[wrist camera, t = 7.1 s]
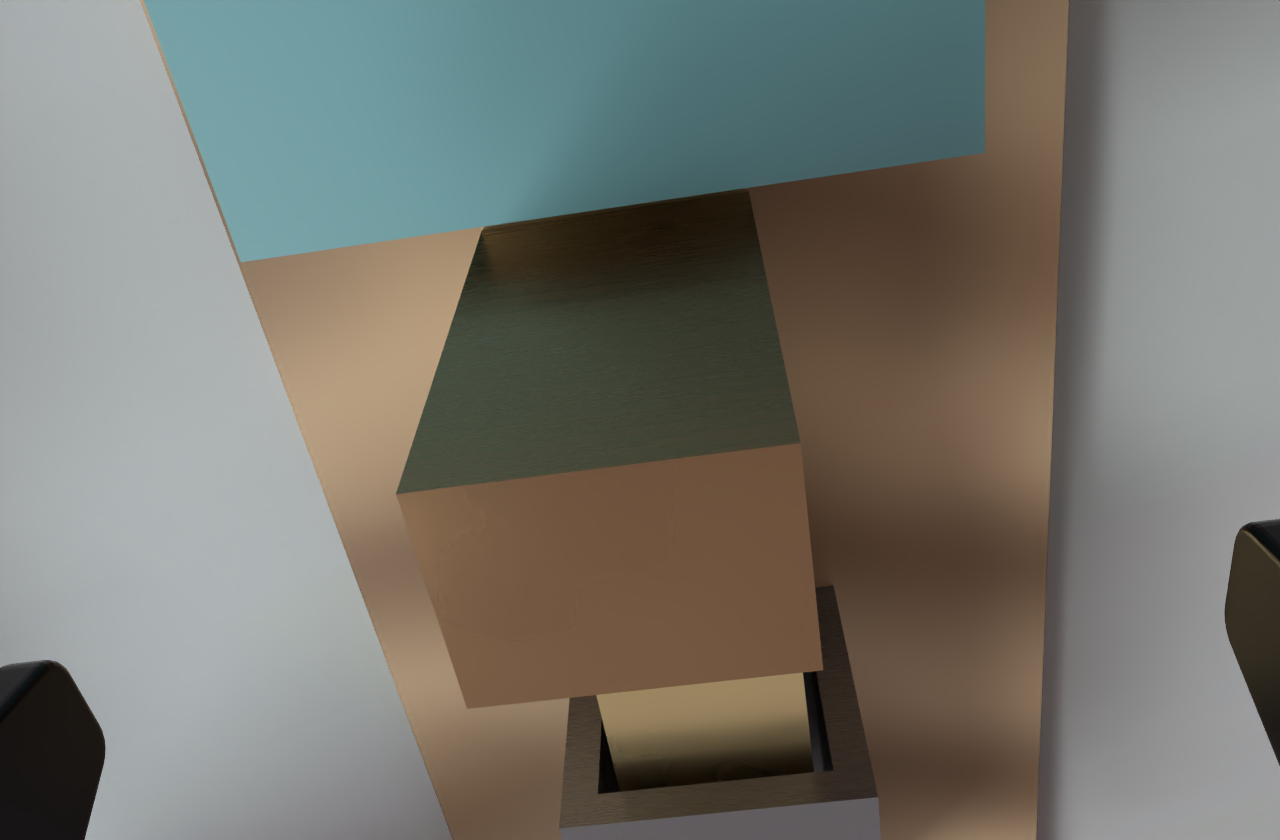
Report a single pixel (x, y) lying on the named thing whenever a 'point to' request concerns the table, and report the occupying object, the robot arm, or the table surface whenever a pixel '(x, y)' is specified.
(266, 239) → the socket block
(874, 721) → the base board
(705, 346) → the l-shaped wooden step
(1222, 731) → the table surface
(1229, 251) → the table surface
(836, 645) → the sleeve
